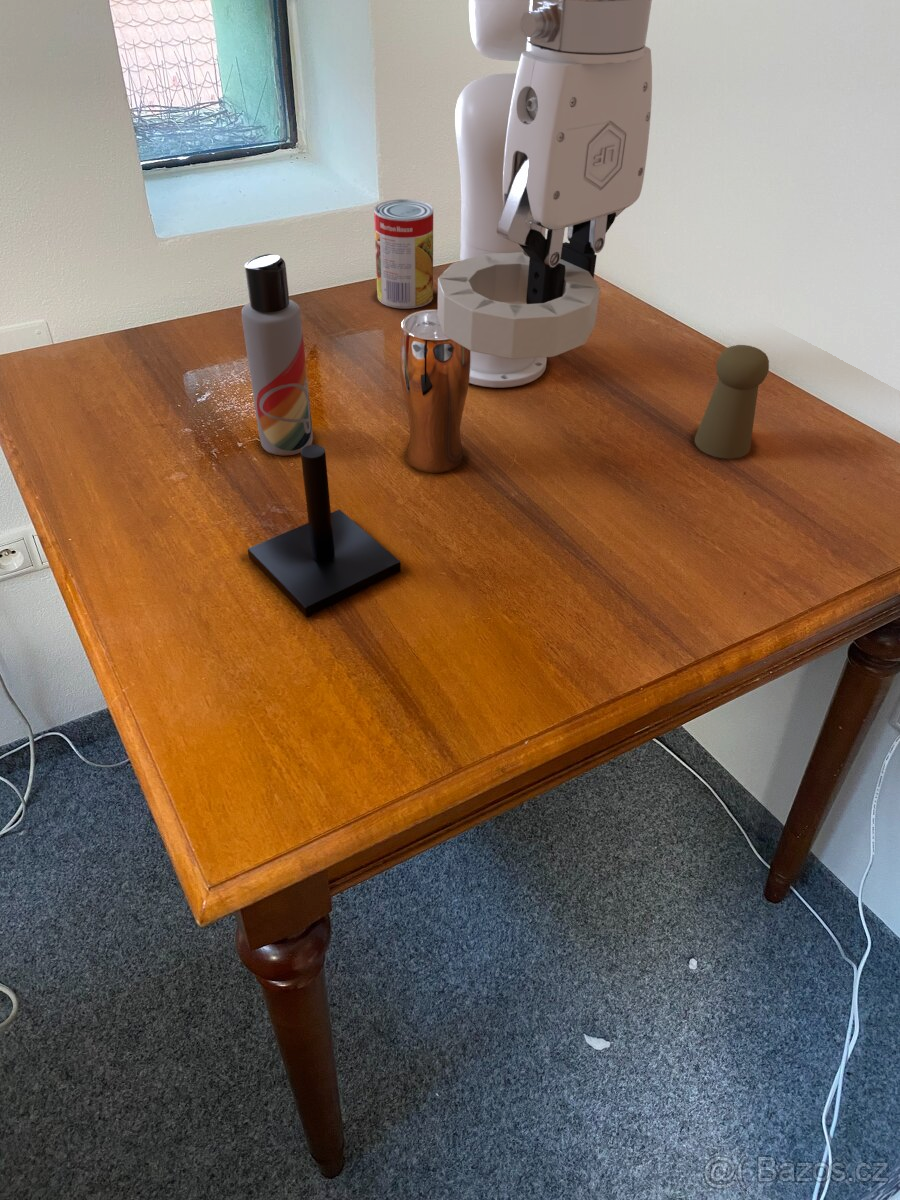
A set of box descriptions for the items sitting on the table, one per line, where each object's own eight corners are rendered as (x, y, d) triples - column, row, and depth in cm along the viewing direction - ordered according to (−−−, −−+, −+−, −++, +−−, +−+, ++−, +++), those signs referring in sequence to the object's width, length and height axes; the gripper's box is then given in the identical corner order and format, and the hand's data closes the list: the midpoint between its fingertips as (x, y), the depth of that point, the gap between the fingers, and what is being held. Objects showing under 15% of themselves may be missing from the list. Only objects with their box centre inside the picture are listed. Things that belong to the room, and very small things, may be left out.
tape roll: (520, 278, 71) (522, 241, 69) (624, 328, 65) (630, 289, 63) (408, 315, 66) (408, 276, 64) (510, 374, 60) (513, 333, 58)
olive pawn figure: (754, 437, 98) (781, 344, 90) (744, 464, 94) (771, 369, 86) (701, 424, 100) (723, 333, 92) (688, 450, 95) (710, 356, 88)
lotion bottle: (303, 460, 93) (283, 272, 79) (252, 453, 93) (223, 266, 80) (320, 432, 97) (303, 250, 83) (271, 426, 98) (246, 244, 84)
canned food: (435, 287, 127) (436, 200, 118) (429, 310, 121) (430, 220, 113) (381, 284, 127) (378, 197, 119) (373, 307, 121) (369, 217, 113)
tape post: (340, 518, 85) (330, 407, 77) (401, 571, 79) (398, 457, 71) (248, 558, 80) (228, 444, 72) (306, 617, 75) (291, 501, 67)
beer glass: (475, 447, 95) (481, 314, 85) (454, 481, 90) (458, 345, 80) (415, 434, 97) (414, 303, 87) (392, 468, 92) (388, 333, 82)
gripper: (535, 51, 49) (513, 354, 62) (716, 21, 57) (663, 296, 69) (450, 29, 53) (446, 316, 66) (629, 3, 61) (595, 265, 74)
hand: (558, 304), depth 67 cm, fingers closed on tape roll, 2 cm apart
